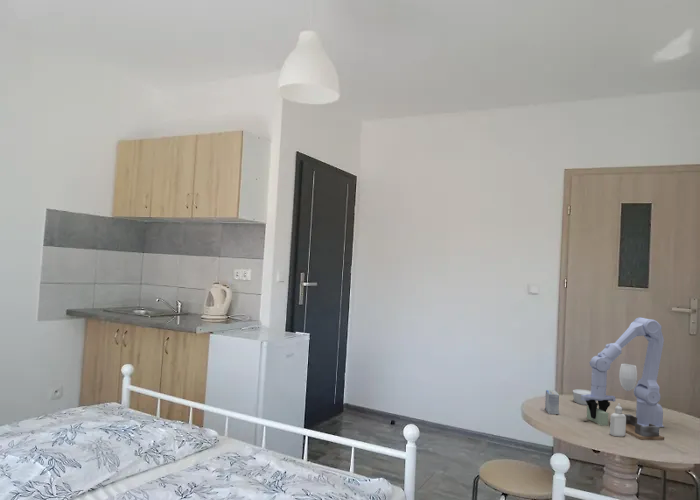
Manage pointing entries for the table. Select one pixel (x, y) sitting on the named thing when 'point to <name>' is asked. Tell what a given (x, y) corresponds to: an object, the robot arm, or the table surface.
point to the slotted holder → (641, 429)
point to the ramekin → (577, 396)
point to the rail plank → (599, 416)
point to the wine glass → (628, 376)
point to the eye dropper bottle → (618, 422)
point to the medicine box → (552, 402)
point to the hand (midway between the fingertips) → (597, 418)
